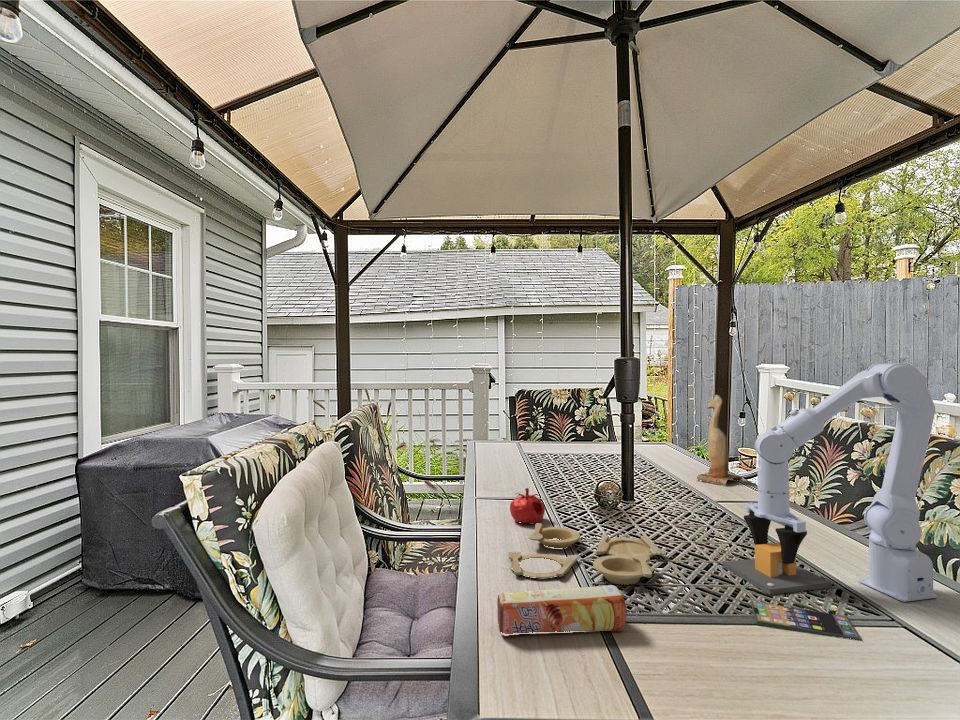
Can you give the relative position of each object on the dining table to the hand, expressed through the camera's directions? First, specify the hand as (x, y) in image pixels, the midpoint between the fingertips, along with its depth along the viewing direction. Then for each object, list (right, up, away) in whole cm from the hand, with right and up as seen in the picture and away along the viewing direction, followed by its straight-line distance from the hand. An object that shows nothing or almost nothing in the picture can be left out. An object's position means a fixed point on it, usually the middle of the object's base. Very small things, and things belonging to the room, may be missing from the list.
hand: (774, 556), depth 109 cm
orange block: (0, -3, 0) cm, 3 cm away
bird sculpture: (+26, -4, +83) cm, 87 cm away
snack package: (-47, -5, -20) cm, 52 cm away
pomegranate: (-48, -5, +39) cm, 62 cm away
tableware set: (-37, -5, +11) cm, 39 cm away
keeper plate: (0, -4, 0) cm, 4 cm away
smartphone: (-5, -5, -18) cm, 20 cm away
